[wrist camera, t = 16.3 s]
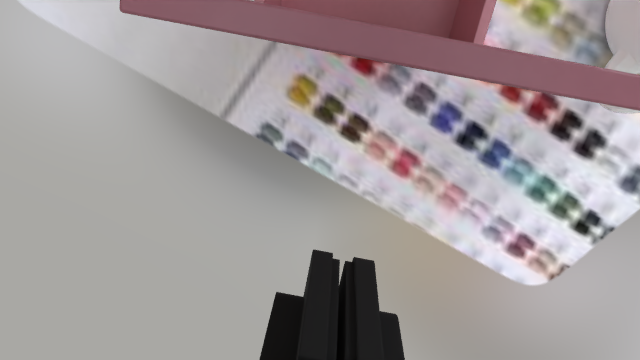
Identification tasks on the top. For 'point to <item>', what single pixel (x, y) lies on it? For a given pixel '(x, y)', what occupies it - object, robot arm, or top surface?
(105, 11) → the top surface
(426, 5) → the pink open box
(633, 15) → the mug
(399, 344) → the robot arm
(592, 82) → the lid
